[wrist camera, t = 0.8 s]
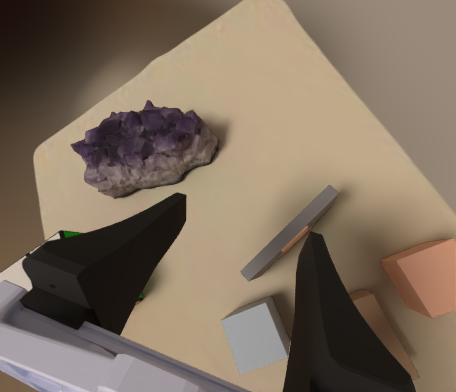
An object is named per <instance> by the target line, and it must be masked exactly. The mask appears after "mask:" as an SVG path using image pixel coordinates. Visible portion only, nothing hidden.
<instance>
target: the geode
mask: <svg viewBox="0 0 456 392" xmlns="http://www.w3.org/2000/svg"><path fill="white" fill-rule="evenodd" d="M218 144H219V139H218V138H217V137H215V136H214V135H213V134H212V131H211V127H210V126H209V125H205V123H204V121H203V120H202V119H201V118H200V117H198V116H197V115H196V113H195V112H194V111H193V110H191V111H188V112H187V113H186V114H184V113H183V112H182V111H181V110H180V109H179V108H167V107H162V108H159V107H154V106H153V104H152V102H151V101H150V100H147V102H146V105H145V107H144V109H143V110H142V111H139V112H134V111H132V110H131V111H130V112H119V113H118V114H116V113H115V112H112V113H111V115H110V117H109V118H106V119H104V120H103V121H102V122H101V124H100V125H99V126H98V127H95V128H93V129H91V130H88V131H86V133H85V139H84V140H81V141H78V142H76V143H74V144H70V145H71V147H72V148H73V150H74V151H75V152H76V153H78V154H79V155H81V156H82V159H83V160H84V162H85V163H86V165H87V168H86V171H85V173H84V180H85V182H86V183H88V184H89V185H91V186H93V187H96V188H98V192H101V193H103V194H104V195H108V196H111V197H113V198H114V199H116V198H120V197H124V196H126V195H128V194H129V193H131V192H134V191H136V190H138V189H151V188H153V187H158V186H163V185H173V184H176V183H178V182H179V181H180V180H181V179H182V177H183V174H184V173H185V172H187V171H189V170H191V169H193V168H195V167H198V166H204V165H208V164H211V162H212V160H213V157H214V155H215V154H216V152H217V151H218V149H219V148H218Z"/></svg>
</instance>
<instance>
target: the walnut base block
mask: <svg viewBox="0 0 456 392" xmlns="http://www.w3.org/2000/svg"><path fill="white" fill-rule="evenodd" d="M349 296H350V298H351V299H352V301H353V303H354V304H355V306H356V307H357V309H358V310H359V312H360V314H361V315H362V316H363V318H364V319H365V321H366V322H367V323H368V325H369V326H370V328H371V329H372V330H373V332H374V333H375V334H376V336H377V337H378V338H379V339H380V341H381V342H382V343H383V344H384V345H385V347H386V348H387V349H388V350H389V352H390V353H391V354H392V355H393V356H394V357H395V358H396V359H397V361H398V362H399V363H400V364H401V365H402V366H403V367H404V368H405V370H406V371H407V372H408V373H409V374H410V375H411V378H412V380H413V379H416V378H419V377H420V376H419V374H418V372H417V370H416V369H415V367H414V365H413V363H412V362H411V360H410V358H409V356H408V355H407V353H406V351H405V349H404V348H403V346H402V344H401V342H400V340H399V339H398V337H397V335H396V333H395V332H394V330H393V328H392V326H391V325H390V323H389V321H388V319H387V318H386V316H385V314H384V312H383V311H382V309H381V307H380V305H379V304H378V302H377V300H376V298H375V296H374V295H373V293H371V292H368V291H366V290H364V289H362V290H359V291H356V292H354V293H351V294H349Z"/></svg>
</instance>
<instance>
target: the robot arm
mask: <svg viewBox="0 0 456 392" xmlns="http://www.w3.org/2000/svg"><path fill="white" fill-rule="evenodd" d="M185 222H186V195H184V194H181V193H178V192H177V193H175V194H173V195H171V196H169V197H168V198H166V199H164V200H163V201H161V202H159V203H157V204H156V205H154V206H152V207H150V208H148V209H146V210H144V211H142V212H140V213H138V214H136V215H134V216H132V217H130V218H128V219H125V220H123V221H121V222H118V223H115V224H113V225H110V226H107V227H104V228H101V229H98V230H94V231H91V232H87V233H84V234H79V235H75V236H71V237H66V238H61V239H55V240H50V241H46V242H45V243H44V244H42V245H41V246H40V247H39V248H37V249H36V250H35V251H34V252H32V253H31V254H30V255H28V256H27V257H26V258H25V259H23V261H22V268H23V270H24V271H25V273H26V274H27V276H28V277H29V279H30V280H31V282H32V283H33V285H34V287H33V288H32V289H31V290H30V291H27V290H26V289H25V288H23V287H21V286H19V285H16V284H14V283H12V282H9V281H7V280H3V281H1V282H0V370H1V371H3V372H5V373H7V374H9V375H11V376H13V377H14V378H16V379H18V380H20V381H22V382H23V383H25V384H27V385H29V386H31V387H33V388H34V389H36V390H38V391H40V392H251V391H248V390H246V389H244V388H241V387H239V386H237V385H234V384H232V383H230V382H227V381H225V380H223V379H220V378H218V377H216V376H213V375H211V374H209V373H206V372H204V371H202V370H199V369H197V368H194V367H192V366H190V365H187V364H185V363H183V362H180V361H178V360H176V359H173V358H171V357H169V356H166V355H164V354H162V353H159V352H157V351H155V350H152V349H150V348H148V347H145V346H143V345H140V344H138V343H136V342H133V341H131V340H129V339H126V338H124V337H122V336H120V335H121V333H122V330H123V328H124V326H125V324H126V322H127V320H128V318H129V316H130V314H131V312H132V310H133V308H134V306H135V304H136V302H137V300H138V298H139V296H140V294H141V292H142V291H143V289H144V287H145V285H146V283H147V281H148V280H149V278H150V276H151V274H152V273H153V271H154V269H155V268H156V266H157V265H158V263H159V262H160V260H161V259H162V257H163V256H164V255H165V253H166V252H167V250H168V249H169V248H170V246H171V245H172V243H173V242H174V241H175V239H176V238H177V236H178V235H179V233H180V231H181V229H182V228H183V226H184V224H185ZM283 392H416V390H415V387H414V384H413V381H412V378H411V375H410V374H409V373H408V372H407V371H406V370H405V368H404V367H403V366H402V365H401V364H400V363H399V362H398V361H397V359H396V358H395V357H394V356H393V355H392V354H391V353H390V352H389V350H388V349H387V348H386V347H385V345H384V344H383V343H382V342H381V341H380V339H379V338H378V337H377V336H376V334H375V333H374V332H373V330H372V329H371V328H370V326H369V325H368V323H367V322H366V321H365V319H364V318H363V316H362V315H361V314H360V312H359V310H358V309H357V307H356V306H355V304H354V303H353V301H352V299H351V298H350V296H349V294H348V292H347V291H346V289H345V287H344V285H343V283H342V281H341V279H340V277H339V275H338V273H337V271H336V269H335V266H334V264H333V262H332V259H331V257H330V255H329V252H328V249H327V247H326V244H325V241H324V238H323V236H322V235H321V234H318V233H314V232H311V231H310V233H309V235H308V237H307V239H306V241H305V244H304V246H303V248H302V250H301V252H300V255H299V258H298V264H297V271H296V289H295V314H294V324H293V331H292V339H291V345H290V352H289V358H288V365H287V371H286V377H285V382H284V388H283Z"/></svg>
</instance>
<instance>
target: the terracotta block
mask: <svg viewBox="0 0 456 392" xmlns="http://www.w3.org/2000/svg"><path fill="white" fill-rule="evenodd" d="M380 262H381V264H382V266H383V267H384V269H385V271H386V272H387V274H388V276H389V277H390V279H391V281H392V282H393V284H394V286H395V287H396V289H397V291H398V292H399V294H400V296H401V297H402V299H403V301H404V302H405V304H406V305H407V307H408V308H410V309H412V310H415V311H417V312H419V313H422V314H424V315H426V316H428V317H431V318H434V317H437V316H440V315H443V314H446V313H449V312H452V311H454V310H456V242H455V240H454V239H445V240H438V241H431V242H425V243H423V244H420V245H418V246H415V247H413V248H410V249H407V250H405V251H402V252H400V253H397V254H395V255H392V256H390V257H387V258H385V259H382V260H380Z"/></svg>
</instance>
